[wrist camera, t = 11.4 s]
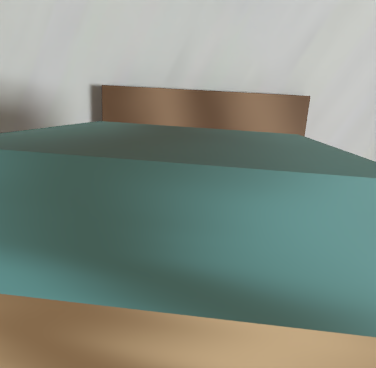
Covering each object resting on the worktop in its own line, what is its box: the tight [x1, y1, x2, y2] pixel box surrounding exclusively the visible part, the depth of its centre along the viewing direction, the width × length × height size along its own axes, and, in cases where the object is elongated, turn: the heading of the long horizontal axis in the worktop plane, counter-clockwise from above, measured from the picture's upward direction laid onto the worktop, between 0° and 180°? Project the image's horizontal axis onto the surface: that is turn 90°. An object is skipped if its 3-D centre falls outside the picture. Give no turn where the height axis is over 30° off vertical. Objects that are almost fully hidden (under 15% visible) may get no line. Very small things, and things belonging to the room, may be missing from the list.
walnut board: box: [102, 85, 310, 136], centre depth 23 cm, size 14×16×1 cm
